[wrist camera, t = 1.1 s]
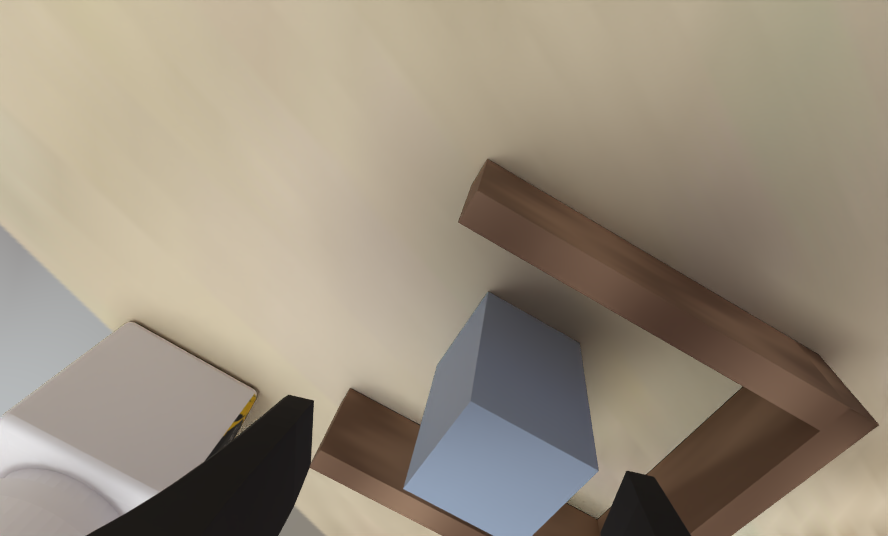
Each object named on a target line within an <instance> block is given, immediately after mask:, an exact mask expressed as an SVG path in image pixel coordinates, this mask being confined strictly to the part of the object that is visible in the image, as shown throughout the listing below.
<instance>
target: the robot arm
mask: <svg viewBox="0 0 888 536" xmlns="http://www.w3.org/2000/svg"><path fill="white" fill-rule="evenodd" d="M313 408H314V400H309V399H305V398H301V397H296V396H292V395H288V396H286V397H284V398H283V399H282V400H281V401H279V402H278V403H277V404H276V405H275V406H274V407H272V408H271V409H270V410H269V411H268V412H266V413H265V414H264V415H263V416H262V417H260V418H259V419H258V420H257V421H256V422H254V423H253V424H252V425H251V426H250V427H248V428H247V429H246V430H245V431H243V432H242V433H241V434H240V435H238V436H237V437H236V438H234V439H233V440H232V441H231V442H229V443H228V444H227V445H225V446H224V447H223V448H222V449H220V450H219V451H218V452H216V453H215V454H214V455H212V456H211V457H210V458H208V459H207V460H206V461H204V462H203V463H201V464H200V465H199V466H197V467H196V468H194V469H193V470H191V471H190V472H189V473H187V474H186V475H184V476H183V477H182V478H180V479H179V480H177V481H176V482H174V483H173V484H171V485H170V486H168V487H167V488H165V489H164V490H162V491H161V492H159V493H158V494H156V495H155V496H153V497H151V498H150V499H148V500H147V501H145V502H143V503H142V504H140V505H138V506H137V507H135V508H133V509H132V510H130V511H129V512H127V513H125V514H123V515H122V516H120V517H118V518H116V519H115V520H113V521H111V522H109V523H107V524H106V525H104V526H102V527H100V528H98V529H97V530H95V531H93V532H91V533H89V534H88V535H86V536H278V535H279V533H280V531H281V530H282V527H283V526H284V524H285V522H286V520H287V518H288V516H289V514H290V513H291V511H292V509H293V507H294V505H295V502H296V500H297V497H298V495H299V493H300V490H301V488H302V485H303V483H304V480H305V478H306V475H307V473H308V470H309V468H310V465H311V448H312V428H313ZM600 533H601V536H691V534H690V533H689V531H688V530H687V528H686V526H685V525H684V523H683V522H682V520H681V518H680V517H679V515H678V514H677V512H676V510H675V509H674V507H673V506H672V504H671V502H670V501H669V499H668V498H667V496H666V494H665V493H664V491H663V490H662V488H661V486H660V485H659V483H658V482H657V480H656V479H655V477H653V476H648V475H644V474H639V473H635V472H630V471H626V473H625V476H624V478H623V480H622V483H621V485H620V487H619V490H618V492H617V494H616V497H615V499H614V501H613V504H612V506H611V509H610V511H609V513H608V516H607V518H606V520H605V523H604V525H603V527H602V530H601V532H600Z"/></svg>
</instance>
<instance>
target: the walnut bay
mask: <svg viewBox="0 0 888 536" xmlns="http://www.w3.org/2000/svg"><path fill="white" fill-rule="evenodd" d="M458 223H460V224H462V225H464V226H465V227H467V228H469V229H471V230H472V231H474V232H476V233H478V234H479V235H481V236H483V237H484V238H486V239H488V240H490V241H491V242H493V243H495V244H497V245H498V246H500V247H502V248H504V249H505V250H507V251H509V252H511V253H512V254H514V255H516V256H517V257H519V258H521V259H523V260H524V261H526V262H528V263H530V264H531V265H533V266H535V267H537V268H538V269H540V270H542V271H544V272H545V273H547V274H549V275H550V276H552V277H554V278H556V279H557V280H559V281H561V282H563V283H564V284H566V285H568V286H570V287H571V288H573V289H575V290H577V291H578V292H580V293H582V294H583V295H585V296H587V297H589V298H590V299H592V300H594V301H596V302H597V303H599V304H601V305H603V306H604V307H606V308H608V309H610V310H611V311H613V312H615V313H617V314H618V315H620V316H622V317H623V318H625V319H627V320H629V321H630V322H632V323H634V324H636V325H637V326H639V327H641V328H643V329H644V330H646V331H648V332H650V333H651V334H653V335H655V336H656V337H658V338H660V339H662V340H663V341H665V342H667V343H669V344H670V345H672V346H674V347H676V348H677V349H679V350H681V351H683V352H684V353H686V354H688V355H689V356H691V357H693V358H695V359H696V360H698V361H700V362H702V363H703V364H705V365H707V366H709V367H710V368H712V369H714V370H716V371H717V372H719V373H721V374H722V375H724V376H726V377H728V378H729V379H731V380H733V381H735V382H736V383H738V384H740V385H742V386H743V387H742V388H741V389H740V390H739V391H738V392H737V393H736V394H735V395H734V396H733V397H731V398H730V399H729V400H728V401H727V402H726V403H725V404H724V405H723V406H722V407H721V408H719V409H718V410H717V411H716V412H715V413H714V414H713V415H712V416H711V417H710V418H708V419H707V420H706V421H705V422H704V423H703V424H702V425H701V426H700V427H699V428H697V429H696V430H695V431H694V432H693V433H692V434H691V435H690V436H689V437H688V438H687V439H685V440H684V441H683V442H682V443H681V444H680V445H679V446H678V447H677V448H676V449H674V450H673V451H672V452H671V453H670V454H669V455H668V456H667V457H666V458H665V459H663V460H662V461H661V462H660V463H659V464H658V465H657V466H656V467H655V468H654V469H652V470H651V471H650V472H649V473H648V474H647V475H648V476H653V477H655V479H656V480H657V482H658V483H659V485H660V486H661V488H662V490H663V491H664V493H665V494H666V496H667V498H668V499H669V501H670V502H671V504H672V506H673V507H674V509H675V510H676V512H677V514H678V515H679V517H680V518H681V520H682V522H683V523H684V525H685V526H686V528H687V530H688V531H689V533H690V534H691V536H732V535H733V534H734V533H736V532H737V531H738V530H740V529H741V528H742V527H744V526H745V525H746V524H748V523H749V522H750V521H752V520H753V519H754V518H756V517H757V516H758V515H760V514H761V513H762V512H764V511H765V510H766V509H768V508H769V507H770V506H772V505H773V504H774V503H776V502H777V501H778V500H780V499H781V498H782V497H784V496H785V495H786V494H788V493H789V492H790V491H792V490H793V489H794V488H796V487H797V486H798V485H800V484H801V483H802V482H804V481H805V480H806V479H808V478H809V477H810V476H812V475H813V474H814V473H816V472H817V471H818V470H820V469H821V468H822V467H824V466H825V465H826V464H828V463H829V462H830V461H832V460H833V459H834V458H836V457H837V456H838V455H840V454H841V453H842V452H844V451H845V450H846V449H848V448H849V447H850V446H852V445H853V444H854V443H856V442H857V441H858V440H860V439H861V438H862V437H864V436H865V435H866V434H868V433H869V432H870V431H872V430H873V429H874V428H876V427H877V426H878V425H879V424H878V423H877V422H876V421H875V419H874V418H873V417H872V416H871V415H870V414H869V413H868V411H867V410H866V409H865V408H864V407H863V406H862V404H861V403H860V402H859V401H858V400H857V399H856V397H855V396H854V395H853V394H852V393H851V392H850V390H849V389H848V388H847V387H846V386H845V385H844V383H843V382H842V381H841V380H840V379H839V378H838V376H837V375H836V374H835V373H834V372H833V371H832V369H831V368H830V367H829V366H828V365H827V364H826V363H825V361H824V360H823V359H822V358H821V357H820V356H819V355H818V354H817V353H815V352H813V351H812V350H810V349H808V348H806V347H805V346H803V345H801V344H800V343H798V342H796V341H795V340H793V339H791V338H790V337H788V336H786V335H784V334H783V333H781V332H779V331H778V330H776V329H774V328H773V327H771V326H769V325H768V324H766V323H764V322H763V321H761V320H759V319H757V318H756V317H754V316H752V315H751V314H749V313H747V312H746V311H744V310H742V309H741V308H739V307H737V306H735V305H734V304H732V303H730V302H729V301H727V300H725V299H724V298H722V297H720V296H719V295H717V294H715V293H713V292H712V291H710V290H708V289H707V288H705V287H703V286H702V285H700V284H698V283H697V282H695V281H693V280H691V279H690V278H688V277H686V276H685V275H683V274H681V273H680V272H678V271H676V270H675V269H673V268H671V267H669V266H668V265H666V264H664V263H663V262H661V261H659V260H658V259H656V258H654V257H653V256H651V255H649V254H647V253H646V252H644V251H642V250H641V249H639V248H637V247H636V246H634V245H632V244H631V243H629V242H627V241H626V240H624V239H622V238H620V237H619V236H617V235H615V234H614V233H612V232H610V231H609V230H607V229H605V228H604V227H602V226H600V225H598V224H597V223H595V222H593V221H592V220H590V219H588V218H587V217H585V216H583V215H582V214H580V213H578V212H576V211H575V210H573V209H571V208H570V207H568V206H566V205H565V204H563V203H561V202H560V201H558V200H556V199H554V198H553V197H551V196H549V195H548V194H546V193H544V192H543V191H541V190H539V189H538V188H536V187H534V186H532V185H531V184H529V183H527V182H526V181H524V180H522V179H521V178H519V177H517V176H516V175H514V174H512V173H510V172H509V171H507V170H505V169H504V168H502V167H500V166H499V165H497V164H495V163H494V162H492V161H490V160H489V159H487V160H486V162H485V164H484V165H483V167H482V169H481V170H480V172H479V174H478V175H477V177H476V179H475V180H474V182H473V184H472V186H471V188H470V191H469V194H468V196H467V199H466V202H465V205H464V207H463V210H462V213H461V216H460V218H459V221H458ZM419 429H420V425H418V424H416V423H414V422H413V421H411V420H409V419H407V418H405V417H403V416H401V415H399V414H398V413H396V412H394V411H392V410H390V409H388V408H386V407H384V406H383V405H381V404H379V403H377V402H375V401H373V400H371V399H369V398H367V397H366V396H364V395H362V394H360V393H358V392H356V391H354V390H352V389H351V388H350V389H349V391H348V392H347V394H346V396H345V397H344V399H343V401H342V402H341V404H340V406H339V408H338V410H337V412H336V414H335V416H334V418H333V420H332V422H331V424H330V426H329V428H328V430H327V432H326V434H325V436H324V438H323V440H322V442H321V444H320V446H319V448H318V450H317V452H316V454H315V456H314V458H313V460H312V462H311V465H310V468H311V469H313V470H315V471H317V472H319V473H321V474H323V475H325V476H327V477H329V478H331V479H333V480H335V481H337V482H339V483H341V484H343V485H345V486H347V487H349V488H350V489H352V490H354V491H356V492H358V493H360V494H362V495H364V496H366V497H368V498H370V499H372V500H374V501H376V502H378V503H380V504H382V505H384V506H386V507H387V508H389V509H391V510H393V511H395V512H397V513H399V514H401V515H403V516H405V517H407V518H409V519H411V520H413V521H415V522H417V523H419V524H421V525H423V526H424V527H426V528H428V529H430V530H432V531H434V532H436V533H438V534H440V535H442V536H493V535H491V534H489V533H487V532H485V531H483V530H481V529H480V528H478V527H476V526H474V525H472V524H470V523H468V522H466V521H464V520H462V519H460V518H458V517H456V516H454V515H453V514H451V513H449V512H447V511H445V510H443V509H441V508H439V507H437V506H435V505H433V504H431V503H429V502H428V501H426V500H424V499H422V498H420V497H418V496H416V495H414V494H412V493H410V492H408V491H406V490H404V489H403V488H404V484H405V481H406V477H407V473H408V470H409V466H410V462H411V459H412V455H413V451H414V448H415V444H416V440H417V437H418V433H419ZM610 509H611V508H610ZM610 509H609V510H607V511H606V512H605V513H604V514H603V515H602V516H601V517H600V518H599V519H598V520H597V519H595V518H593V517H591V516H589V515H587V514H585V513H583V512H582V511H580V510H578V509H576V508H574V507H572V506H570V505H568V504H567V503H565V504H564V505H563V506H562V507H561V508H560V509H559V510H558V511H557V512H556V513H555V514H554V515H553V516H552V517H551V518H550V519H549V520H548V521H547V522H546V523H545V524H544V525H543V526H542V527H541V528H539V529H538V530H537V531H536V532H535V533H534V534H533V535H532V536H601V533H600V532H601V530H602V527H603V525H604V523H605V520H606V518H607V516H608V513H609V511H610Z"/></svg>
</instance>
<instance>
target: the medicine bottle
mask: <svg viewBox="0 0 888 536" xmlns="http://www.w3.org/2000/svg"><path fill="white" fill-rule="evenodd" d="M256 397H257V393H256V391H255V390H254V389H253V388H251V387H249V386H247V385H245V384H244V383H242V382H240V381H238V380H237V379H235V378H233V377H231V376H229V375H228V374H226V373H224V372H222V371H220V370H219V369H217V368H215V367H213V366H211V365H210V364H208V363H206V362H204V361H203V360H201V359H199V358H197V357H195V356H194V355H192V354H190V353H188V352H186V351H185V350H183V349H181V348H179V347H178V346H176V345H174V344H172V343H170V342H169V341H167V340H165V339H163V338H161V337H160V336H158V335H156V334H154V333H152V332H151V331H149V330H147V329H145V328H144V327H142V326H140V325H138V324H136V323H134V322H127V323H125V324H124V325H122V326H121V327H120V328H118V329H117V330H116V331H114V332H113V333H112V334H110V335H109V336H107V337H106V338H105V339H103V340H102V341H101V342H99V343H98V344H97V345H95V346H94V347H93V348H91V349H90V350H89V351H87V352H86V353H85V354H83V355H82V356H81V357H79V358H78V359H77V360H75V361H74V362H73V363H71V364H70V365H69V366H67V367H66V368H65V369H63V370H62V371H61V372H59V373H58V374H57V375H55V376H54V377H52V378H51V379H50V380H48V381H47V382H46V383H44V384H43V385H42V386H41V387H39V388H38V389H36V390H35V391H34V392H32V393H31V394H30V395H28V396H27V397H26V398H25V399H23V400H22V401H20V402H19V403H18V404H16V405H15V406H14V407H12V408H11V409H10V410H8V411H7V412H6V413H5V414H3V416H2V417H1V418H0V536H86V535H88V534H89V533H91V532H93V531H95V530H97V529H98V528H100V527H102V526H104V525H106V524H107V523H109V522H111V521H113V520H115V519H116V518H118V517H120V516H122V515H123V514H125V513H127V512H129V511H130V510H132V509H133V508H135V507H137V506H138V505H140V504H142V503H143V502H145V501H147V500H148V499H150V498H151V497H153V496H155V495H156V494H158V493H159V492H161V491H162V490H164V489H165V488H167V487H168V486H170V485H171V484H173V483H174V482H176V481H177V480H179V479H180V478H182V477H183V476H184V475H186V474H187V473H189V472H190V471H191V470H193V469H194V468H196V467H197V466H199V465H200V464H201V463H203V462H204V461H206V460H207V459H208V458H210V457H211V456H212V455H214V454H215V453H216V452H218V451H219V450H220V449H222V448H223V447H224V446H225V445H227V444H228V443H229V442H231V441H232V440H233V439H234V438H235V436H236V434H237V432H238V431H239V429H240V427H241V425H242V423H243V422H244V420H245V418H246V416H247V414H248V413H249V411H250V409H251V407H252V405H253V404H254V402H255V400H256Z"/></svg>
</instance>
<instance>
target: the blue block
mask: <svg viewBox="0 0 888 536" xmlns="http://www.w3.org/2000/svg"><path fill="white" fill-rule="evenodd" d="M598 471H599V470H598V463H597V456H596V449H595V443H594V436H593V429H592V423H591V416H590V409H589V402H588V396H587V389H586V382H585V375H584V369H583V362H582V355H581V348H580V343H578V342H577V341H575V340H573V339H571V338H570V337H568V336H566V335H564V334H562V333H561V332H559V331H557V330H555V329H554V328H552V327H550V326H548V325H547V324H545V323H543V322H541V321H540V320H538V319H536V318H534V317H532V316H531V315H529V314H527V313H525V312H524V311H522V310H520V309H518V308H517V307H515V306H513V305H511V304H509V303H508V302H506V301H504V300H502V299H501V298H499V297H497V296H495V295H494V294H492V293H490V292H487V294H486V295H485V297H484V298H483V299H482V301H481V302H480V304H479V305H478V307H477V308H476V310H475V311H474V312H473V314H472V315H471V317H470V318H469V320H468V321H467V323H466V324H465V326H464V327H463V328H462V330H461V331H460V333H459V334H458V336H457V337H456V339H455V340H454V341H453V343H452V344H451V346H450V347H449V349H448V350H447V352H446V353H445V354H444V356H443V357H442V359H441V360H440V362H439V363H438V365H437V367H436V371H435V375H434V378H433V382H432V386H431V389H430V393H429V397H428V400H427V404H426V408H425V411H424V415H423V418H422V422H421V426H420V429H419V433H418V437H417V440H416V444H415V448H414V451H413V455H412V459H411V462H410V466H409V470H408V473H407V477H406V481H405V484H404V488H403V489H404V490H406V491H408V492H410V493H412V494H414V495H416V496H418V497H420V498H422V499H424V500H426V501H428V502H429V503H431V504H433V505H435V506H437V507H439V508H441V509H443V510H445V511H447V512H449V513H451V514H453V515H454V516H456V517H458V518H460V519H462V520H464V521H466V522H468V523H470V524H472V525H474V526H476V527H478V528H480V529H481V530H483V531H485V532H487V533H489V534H491V535H493V536H532V535H533V534H534V533H535V532H536V531H537V530H538V529H539V528H541V527H542V526H543V525H544V524H545V523H546V522H547V521H548V520H549V519H550V518H551V517H552V516H553V515H554V514H555V513H556V512H557V511H558V510H559V509H560V508H561V507H562V506H563V505H564V504H565V503H566V502H567V501H568V500H569V499H570V498H571V497H572V496H573V495H574V494H575V493H576V492H577V491H578V490H579V489H580V488H582V487H583V486H584V485H585V484H586V483H587V482H588V481H589V480H590V479H591V478H592V477H593V476H594V475H595V474H596V473H597V472H598Z"/></svg>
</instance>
